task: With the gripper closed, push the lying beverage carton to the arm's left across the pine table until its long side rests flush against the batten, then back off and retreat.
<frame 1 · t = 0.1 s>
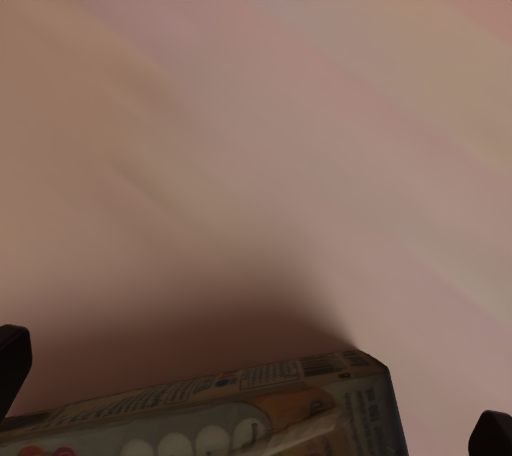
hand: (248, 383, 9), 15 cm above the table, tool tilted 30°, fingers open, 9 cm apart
beverage carton: (197, 451, 23), on the table
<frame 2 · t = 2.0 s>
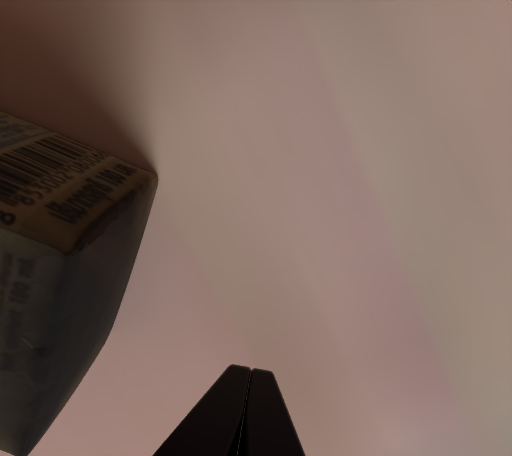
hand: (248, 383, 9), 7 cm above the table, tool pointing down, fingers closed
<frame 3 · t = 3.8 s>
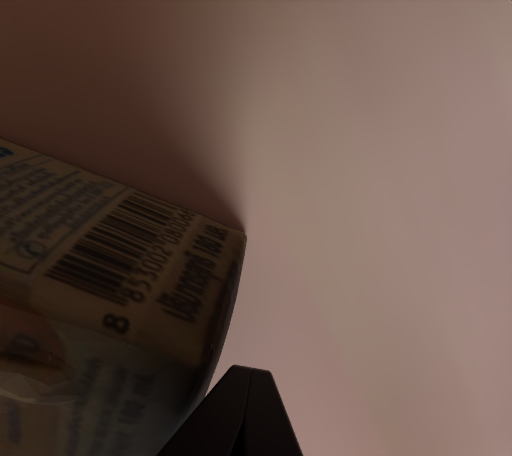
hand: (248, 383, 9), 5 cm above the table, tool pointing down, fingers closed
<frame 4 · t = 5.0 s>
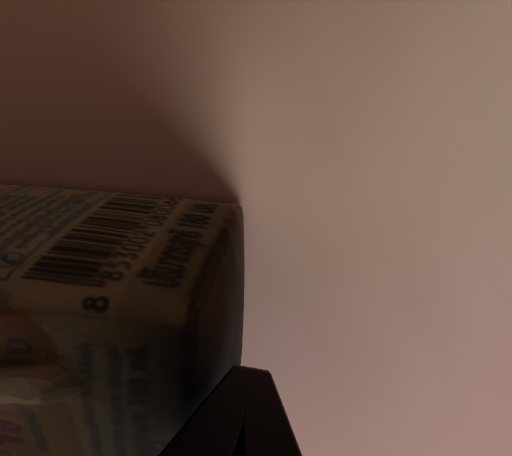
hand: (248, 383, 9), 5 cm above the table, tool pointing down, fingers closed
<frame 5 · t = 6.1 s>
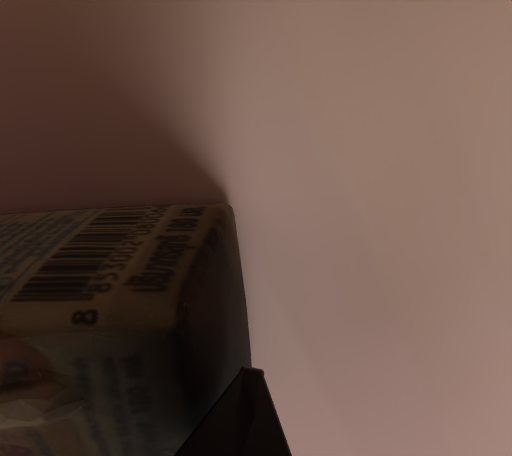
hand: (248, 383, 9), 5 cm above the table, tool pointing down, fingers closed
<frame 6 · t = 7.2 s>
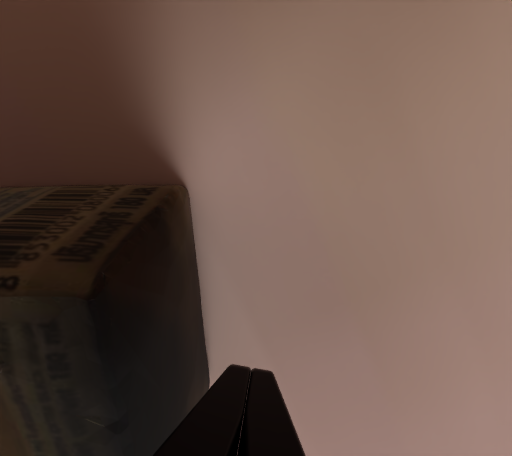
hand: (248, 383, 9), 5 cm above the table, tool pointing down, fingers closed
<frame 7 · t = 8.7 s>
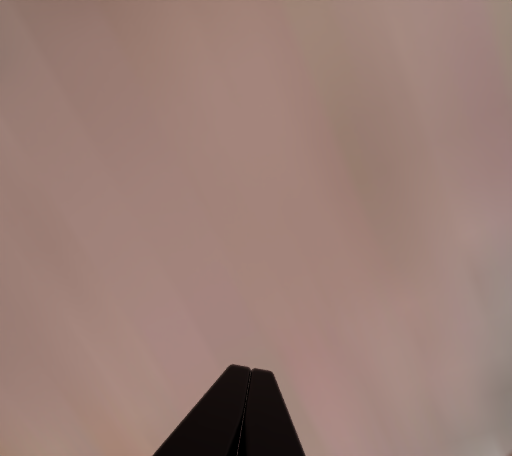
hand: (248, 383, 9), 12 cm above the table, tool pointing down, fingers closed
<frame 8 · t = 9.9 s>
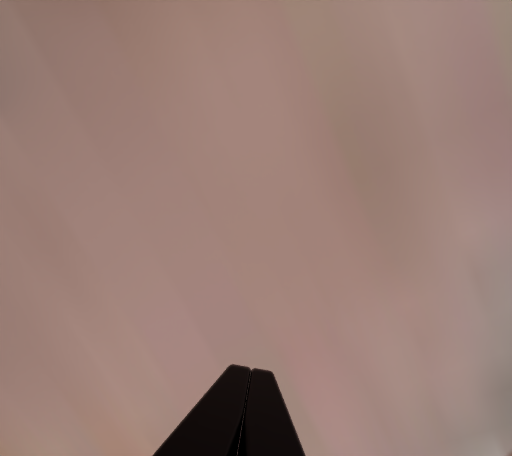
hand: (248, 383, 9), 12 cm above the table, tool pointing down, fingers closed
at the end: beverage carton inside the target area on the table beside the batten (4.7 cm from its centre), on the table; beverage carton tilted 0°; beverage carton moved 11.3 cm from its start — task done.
